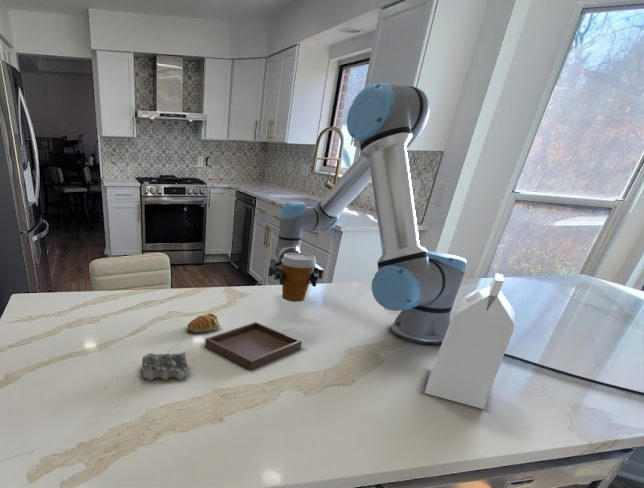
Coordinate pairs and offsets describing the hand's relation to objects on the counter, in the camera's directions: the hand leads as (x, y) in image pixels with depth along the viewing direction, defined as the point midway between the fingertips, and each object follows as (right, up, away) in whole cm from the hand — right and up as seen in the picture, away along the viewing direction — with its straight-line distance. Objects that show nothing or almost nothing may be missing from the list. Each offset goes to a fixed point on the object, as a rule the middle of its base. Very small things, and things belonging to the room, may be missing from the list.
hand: (298, 280), depth 116 cm
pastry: (-25, -12, +9) cm, 30 cm away
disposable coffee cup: (0, -4, +7) cm, 8 cm away
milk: (+31, -29, -18) cm, 47 cm away
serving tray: (-13, -18, -1) cm, 22 cm away
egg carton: (-36, -25, -14) cm, 46 cm away
